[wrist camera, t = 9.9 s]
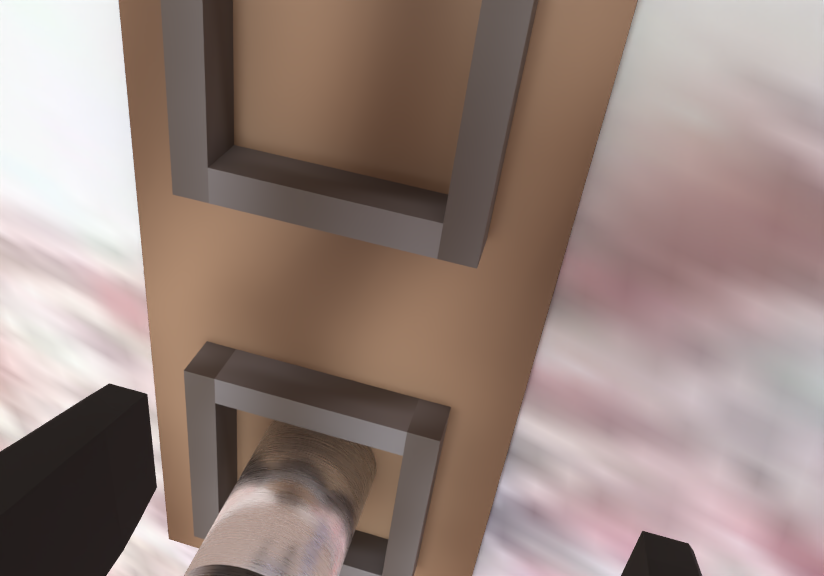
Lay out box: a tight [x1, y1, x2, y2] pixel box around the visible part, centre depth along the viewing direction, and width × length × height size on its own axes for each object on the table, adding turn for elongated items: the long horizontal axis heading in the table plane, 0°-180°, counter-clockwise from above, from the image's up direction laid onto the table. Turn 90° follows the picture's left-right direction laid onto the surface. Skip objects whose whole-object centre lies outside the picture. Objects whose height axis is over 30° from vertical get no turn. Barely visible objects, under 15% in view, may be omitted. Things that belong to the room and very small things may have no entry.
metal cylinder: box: [184, 420, 377, 576], centre depth 22 cm, size 4×4×8 cm
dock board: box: [119, 0, 638, 576], centre depth 21 cm, size 12×28×2 cm, turn 173°
